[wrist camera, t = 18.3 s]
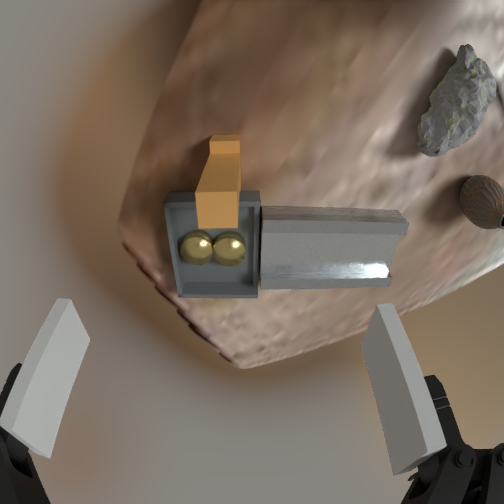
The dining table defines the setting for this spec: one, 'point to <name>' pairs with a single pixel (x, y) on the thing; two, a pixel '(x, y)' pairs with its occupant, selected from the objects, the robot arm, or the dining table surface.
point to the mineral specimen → (457, 104)
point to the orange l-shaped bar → (220, 184)
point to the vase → (483, 202)
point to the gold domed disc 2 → (229, 248)
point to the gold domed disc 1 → (197, 247)
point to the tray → (212, 273)
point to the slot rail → (327, 247)
